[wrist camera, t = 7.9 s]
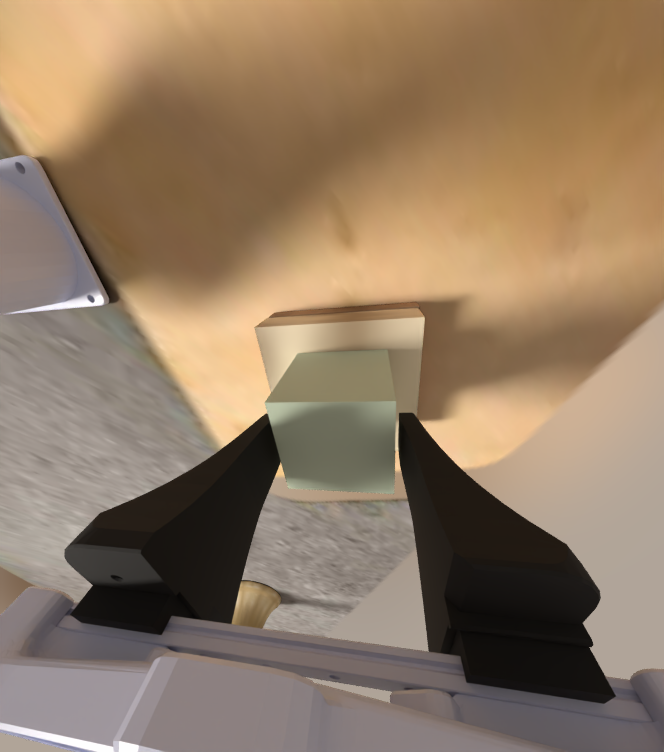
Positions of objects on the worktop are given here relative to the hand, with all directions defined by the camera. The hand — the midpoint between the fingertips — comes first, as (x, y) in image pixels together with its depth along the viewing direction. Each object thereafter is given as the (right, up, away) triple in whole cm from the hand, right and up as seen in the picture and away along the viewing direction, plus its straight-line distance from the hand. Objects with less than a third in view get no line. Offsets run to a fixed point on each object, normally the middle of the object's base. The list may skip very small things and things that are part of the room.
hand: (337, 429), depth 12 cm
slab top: (+1, +2, +5) cm, 5 cm away
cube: (+1, +2, +3) cm, 3 cm away
